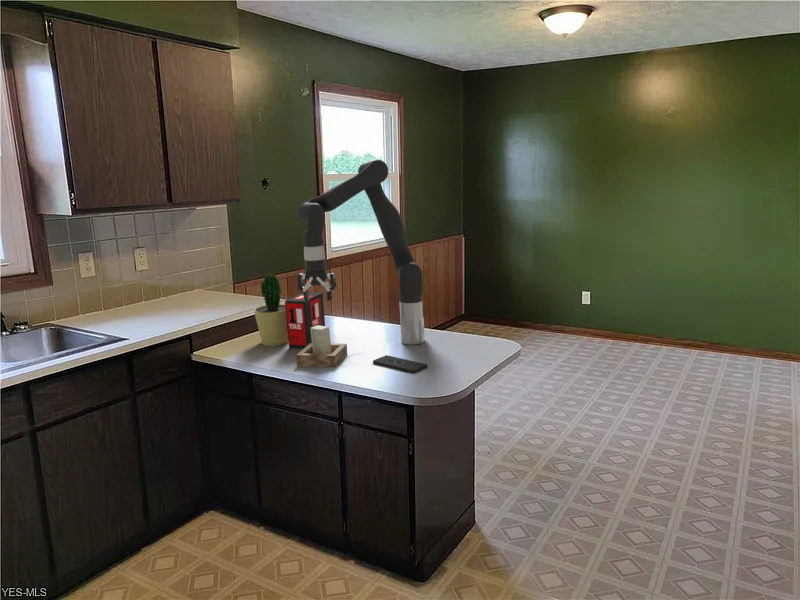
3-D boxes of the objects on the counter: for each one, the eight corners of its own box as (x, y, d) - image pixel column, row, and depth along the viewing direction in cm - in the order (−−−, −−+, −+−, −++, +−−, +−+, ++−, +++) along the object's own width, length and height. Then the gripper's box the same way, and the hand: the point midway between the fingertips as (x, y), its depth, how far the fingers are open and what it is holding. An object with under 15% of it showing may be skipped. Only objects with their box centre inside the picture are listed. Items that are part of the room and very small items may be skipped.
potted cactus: (267, 336, 268) (261, 269, 261) (299, 337, 264) (293, 269, 257) (250, 346, 253) (242, 276, 247) (283, 347, 249) (277, 276, 242)
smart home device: (386, 354, 230) (428, 363, 217) (386, 358, 230) (428, 368, 218) (371, 360, 224) (413, 370, 211) (371, 364, 224) (413, 375, 212)
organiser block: (347, 354, 236) (346, 343, 235) (335, 367, 222) (335, 355, 221) (311, 353, 239) (310, 343, 238) (297, 366, 225) (296, 354, 224)
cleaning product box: (307, 337, 263) (303, 292, 259) (326, 338, 261) (322, 292, 256) (289, 348, 248) (284, 300, 244) (308, 349, 245) (304, 301, 241)
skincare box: (332, 357, 230) (330, 326, 228) (324, 360, 227) (321, 329, 224) (320, 355, 234) (318, 324, 231) (312, 358, 231) (309, 327, 228)
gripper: (336, 256, 224) (339, 298, 227) (300, 256, 227) (303, 298, 230) (330, 259, 217) (333, 303, 220) (292, 260, 220) (296, 303, 223)
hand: (318, 301), depth 225 cm, fingers open, 8 cm apart
